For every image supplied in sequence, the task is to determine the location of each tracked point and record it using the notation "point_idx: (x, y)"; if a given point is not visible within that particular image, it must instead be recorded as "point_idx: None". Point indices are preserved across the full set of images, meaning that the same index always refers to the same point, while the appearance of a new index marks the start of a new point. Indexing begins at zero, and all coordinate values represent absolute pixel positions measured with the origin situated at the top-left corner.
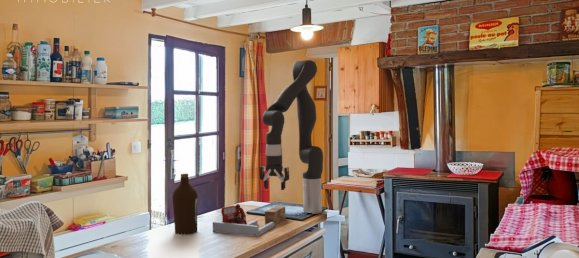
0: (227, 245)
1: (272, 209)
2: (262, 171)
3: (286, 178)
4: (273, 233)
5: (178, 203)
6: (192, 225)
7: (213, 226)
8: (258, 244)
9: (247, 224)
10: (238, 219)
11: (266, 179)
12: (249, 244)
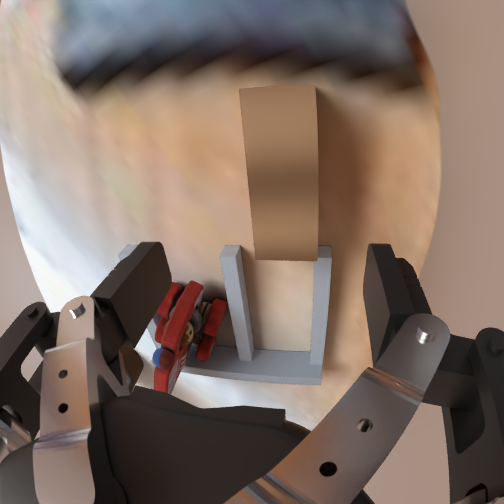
0: None
1: (272, 200)
2: (29, 430)
3: (469, 414)
4: (363, 324)
5: None
6: (135, 380)
7: None
8: None
9: (238, 320)
10: (196, 331)
11: (112, 350)
12: (331, 400)
